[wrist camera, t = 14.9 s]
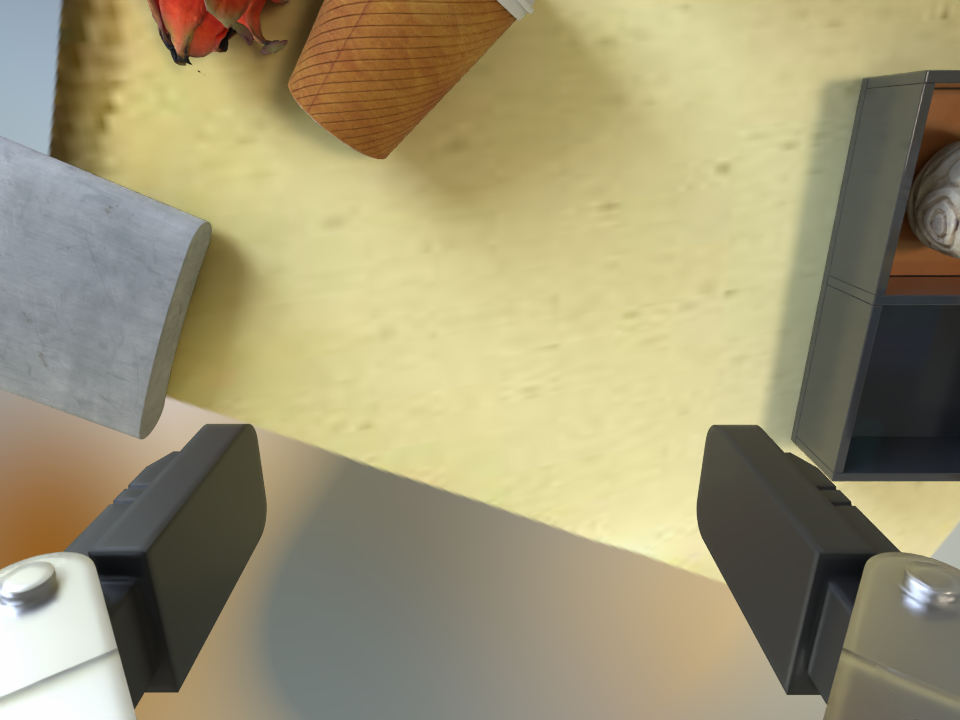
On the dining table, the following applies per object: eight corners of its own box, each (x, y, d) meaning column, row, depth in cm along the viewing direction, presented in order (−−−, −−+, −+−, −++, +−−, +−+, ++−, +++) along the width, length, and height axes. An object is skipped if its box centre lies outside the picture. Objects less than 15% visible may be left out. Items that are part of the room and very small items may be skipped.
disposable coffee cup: (367, 107, 40) (486, -67, 35) (435, 200, 36) (580, 17, 31) (233, 32, 32) (360, -203, 28) (297, 139, 28) (461, -117, 23)
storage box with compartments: (862, 78, 36) (927, 69, 31) (1070, 78, 36) (1170, 69, 31) (790, 439, 45) (832, 481, 39) (959, 440, 45) (1023, 481, 39)
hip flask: (216, 218, 39) (-117, 80, 36) (187, 228, 35) (-187, 75, 33) (158, 426, 44) (-138, 319, 41) (128, 454, 40) (-200, 338, 38)
